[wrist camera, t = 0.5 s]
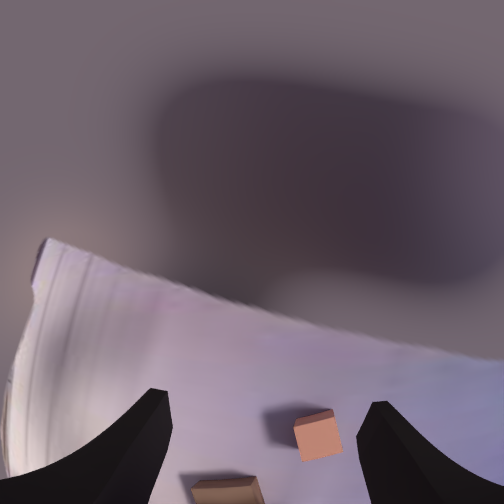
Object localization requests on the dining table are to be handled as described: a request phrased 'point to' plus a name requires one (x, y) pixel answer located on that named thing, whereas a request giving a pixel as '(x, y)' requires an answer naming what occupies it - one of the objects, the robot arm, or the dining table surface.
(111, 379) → the dining table surface
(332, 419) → the terracotta cube
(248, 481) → the walnut block
